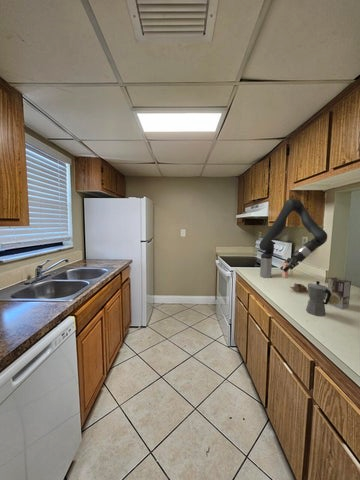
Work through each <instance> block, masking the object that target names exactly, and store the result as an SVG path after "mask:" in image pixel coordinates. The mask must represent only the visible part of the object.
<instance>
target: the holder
mask: <svg viewBox="0 0 360 480" xmlns="http://www.w3.org/2000/svg"><path fill="white" fill-rule="evenodd" d="M289 288H290V289H292V290H293V291H294V292H295V293H302V294H308V286H305V285H304V284H301V283H296V282H295V283H294V284H293V286H289Z"/></svg>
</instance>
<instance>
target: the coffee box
mask: <svg viewBox="0 0 360 480" xmlns="http://www.w3.org/2000/svg"><path fill="white" fill-rule="evenodd" d="M351 286H352V281H351V280H347V279H344V278H343V279H342V278H339V277H331V278H328V286H327V288H328V290H330V292H331V297H330V299H329V301H328V304H327V305H330V306H332V307H335V308H338V309H339V310H340V309H341V310H346V309H349V308H350V299H351V298H350V297H351Z"/></svg>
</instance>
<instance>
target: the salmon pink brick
mask: <svg viewBox="0 0 360 480" xmlns="http://www.w3.org/2000/svg"><path fill="white" fill-rule="evenodd" d="M288 265H289V264H287V263H284V262H282V266H283V269H284V268H286V267H287V266H288ZM281 271H282V274H281V277H282V278H284V279H288V278H289V270H288V271H286V272H284V271H283V270H281Z"/></svg>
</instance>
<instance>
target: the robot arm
mask: <svg viewBox="0 0 360 480" xmlns="http://www.w3.org/2000/svg"><path fill="white" fill-rule="evenodd" d="M292 212H296V213H297V214H298V215H299V217H300V220H301V223H302V225H303V227H304V228H305V229H306V231H308V232H309V233H311V234H312V236H313V238H312V239H311V240H307V242H305V243H304V244H303V245H302V246H300V247H299V248H298V249H297V250H295V251H294V252H293V253H292V255H291V256H292V257H288V258H287V259H286V260H285V261H284V262H283V263H287V264H289V265H288V266H287V267H286V268H284V269H283V265H281V267H280V270H281V271H282V270H283V271H284V272H286V271H288V272H289V270H292V269H294V268H295V267H297V266H299V265H300V263H302V262H303V261H304V260H305V259H306V258H308V257H309V256H311V254H312V253H314V251H315V250H317V249H318V248H319V247H322V246H323V245H324V244H325V243H326V242H327V240H328V233H327V232H326V230H324V229H323V227H321V226H319V225H318V223H317V222H316V221H315V220H314V219H313V218H312V216H311V215H310V213H309V212H308V211H307V209H306V208H305V205H304V204H303V202H302V201H301V199H297V198H290V199H287V200H286V201H285V202H284V204H283V205H282V208H281V210H280V212H279V213H278V216H277V218H276V219H275V220H274V222H273V224H272V225H271V227H270V228H269V230H268V231H267V233H266V235H265V236H264V237H263V238H261V241H260V242H259V249H260V250H261V251H264V252H263V253H261V254H260V270H259V271H260V273H259V277H262V278H266V279H267V278H268V279H269V278H272V264H273V256H274V251H275V243H274V241H273V240H274V239H275V238H277V237H278V236H279V235H280V234H282V232H283V231H284V230H285V228H286V227H287V218H288V217H289V215H290V214H291V213H292Z"/></svg>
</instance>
